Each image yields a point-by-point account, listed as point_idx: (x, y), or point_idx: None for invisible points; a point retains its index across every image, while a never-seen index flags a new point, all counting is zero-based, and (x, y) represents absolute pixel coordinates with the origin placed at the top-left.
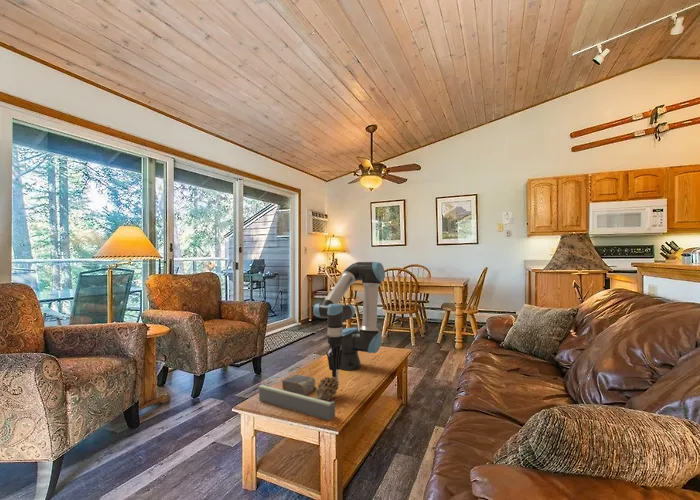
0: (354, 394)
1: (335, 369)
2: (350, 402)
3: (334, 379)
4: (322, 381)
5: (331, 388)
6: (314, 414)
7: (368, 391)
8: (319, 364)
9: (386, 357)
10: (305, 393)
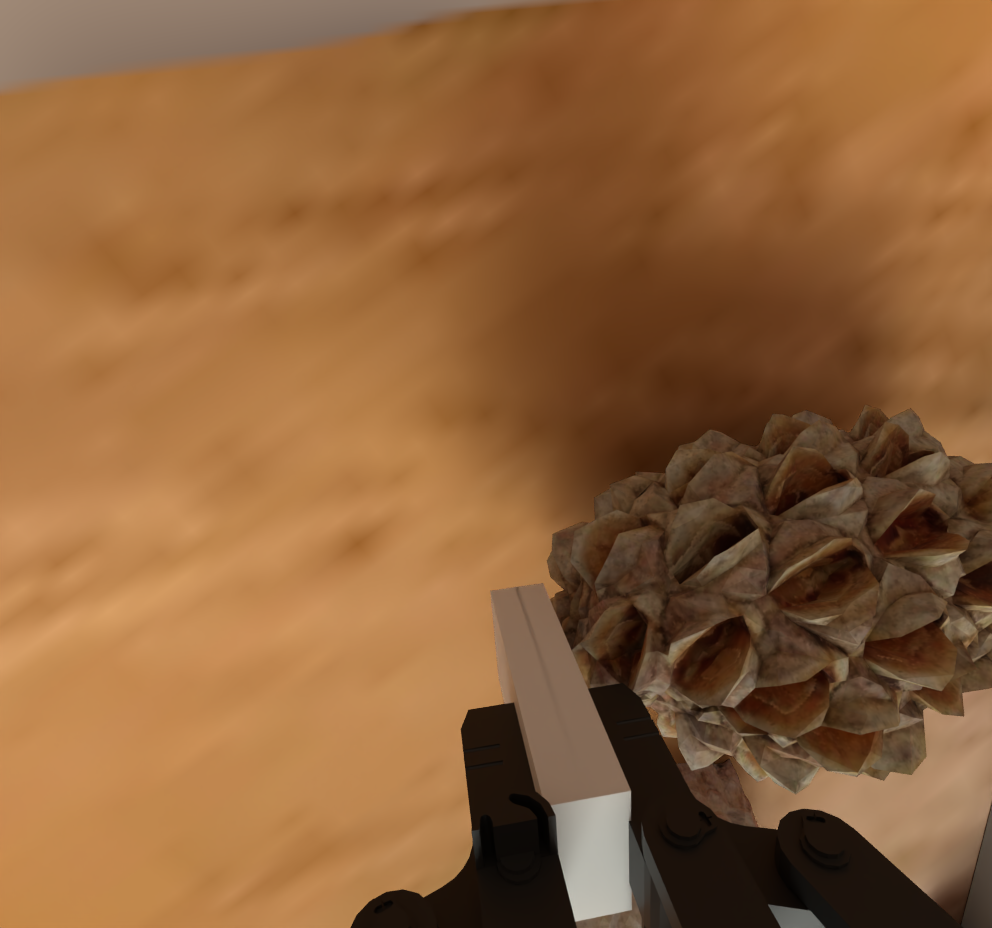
0: (359, 283)
1: (724, 832)
2: (644, 164)
3: (740, 609)
4: (919, 715)
5: (941, 455)
6: None
7: (74, 123)
8: None
9: None
10: (731, 779)
